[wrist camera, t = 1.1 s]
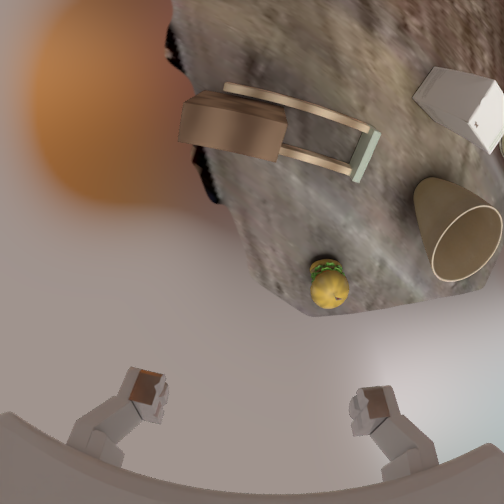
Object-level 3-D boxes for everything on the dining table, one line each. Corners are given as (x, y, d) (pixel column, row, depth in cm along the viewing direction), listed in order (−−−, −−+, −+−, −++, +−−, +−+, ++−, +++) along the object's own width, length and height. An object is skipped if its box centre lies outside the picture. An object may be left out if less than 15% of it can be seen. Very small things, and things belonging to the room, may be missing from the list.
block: (199, 119, 38) (177, 141, 30) (204, 90, 34) (183, 102, 26) (274, 136, 39) (275, 162, 31) (283, 107, 36) (287, 124, 28)
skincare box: (433, 121, 33) (489, 159, 22) (408, 96, 31) (465, 124, 20) (457, 89, 28) (518, 117, 17) (433, 62, 26) (496, 79, 15)
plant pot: (444, 226, 47) (478, 280, 35) (388, 222, 48) (417, 283, 36) (466, 165, 37) (514, 211, 25) (406, 151, 38) (454, 200, 26)
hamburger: (303, 272, 58) (307, 318, 49) (311, 247, 53) (317, 293, 44) (337, 275, 58) (345, 319, 49) (347, 250, 53) (359, 296, 44)
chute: (215, 134, 39) (212, 138, 38) (226, 81, 33) (224, 83, 32) (346, 170, 42) (349, 175, 40) (366, 123, 36) (370, 127, 34)
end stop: (346, 170, 42) (352, 180, 39) (366, 123, 36) (374, 130, 33) (352, 172, 42) (358, 183, 39) (372, 126, 36) (381, 133, 33)
